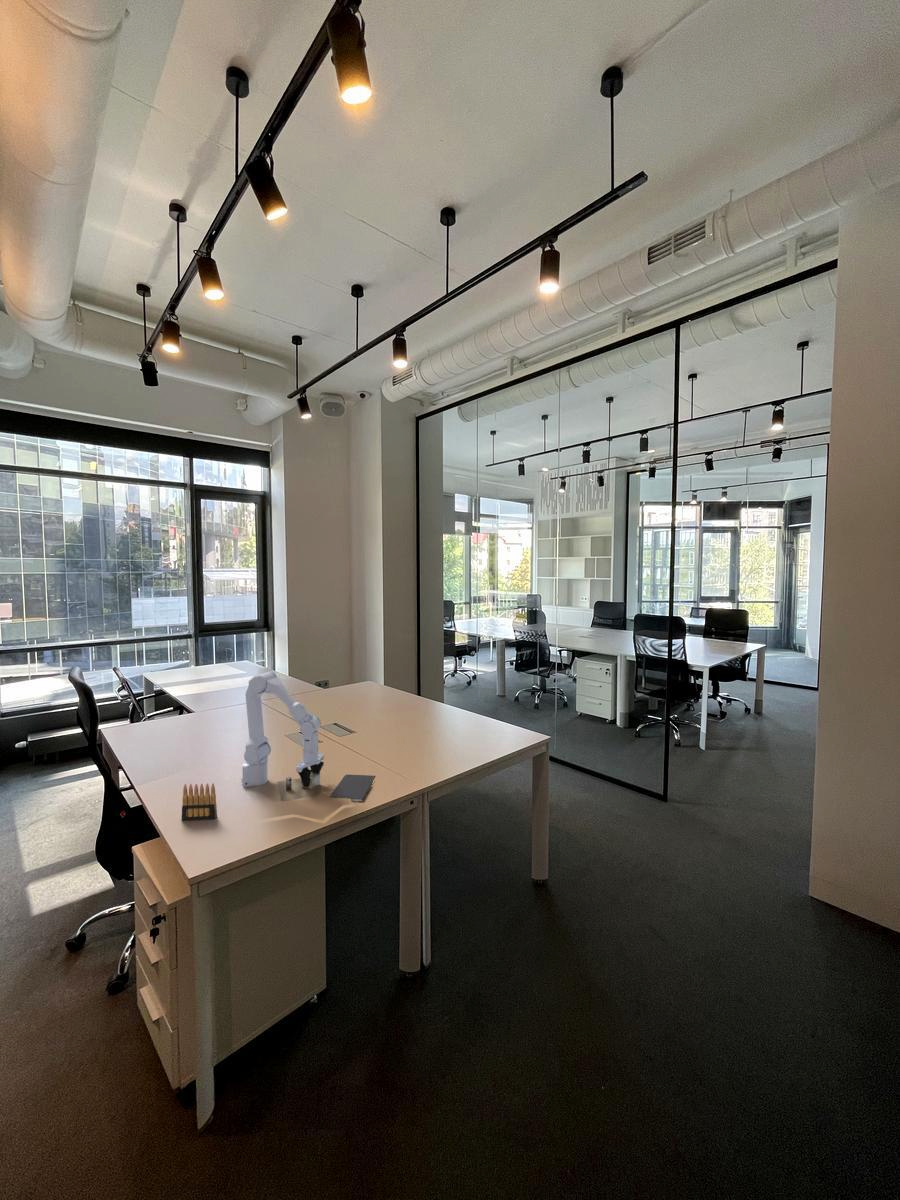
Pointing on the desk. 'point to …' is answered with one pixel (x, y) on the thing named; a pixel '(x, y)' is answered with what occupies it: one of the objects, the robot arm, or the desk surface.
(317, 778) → the steel collar
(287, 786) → the grey metal cylinder
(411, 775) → the desk surface
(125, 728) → the desk surface
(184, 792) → the ammunition clip
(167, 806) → the desk surface
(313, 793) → the tan board
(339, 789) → the notebook
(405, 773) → the desk surface
